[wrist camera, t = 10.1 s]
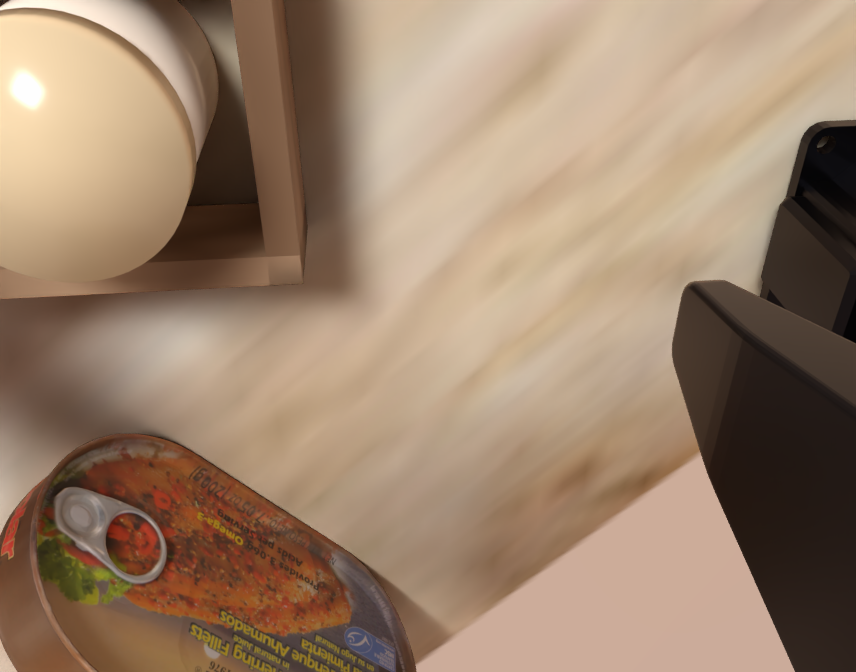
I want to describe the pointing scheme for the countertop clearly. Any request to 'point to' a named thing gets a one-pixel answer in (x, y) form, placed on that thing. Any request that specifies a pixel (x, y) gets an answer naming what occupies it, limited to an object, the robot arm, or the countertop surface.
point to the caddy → (230, 223)
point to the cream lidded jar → (98, 132)
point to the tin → (180, 575)
